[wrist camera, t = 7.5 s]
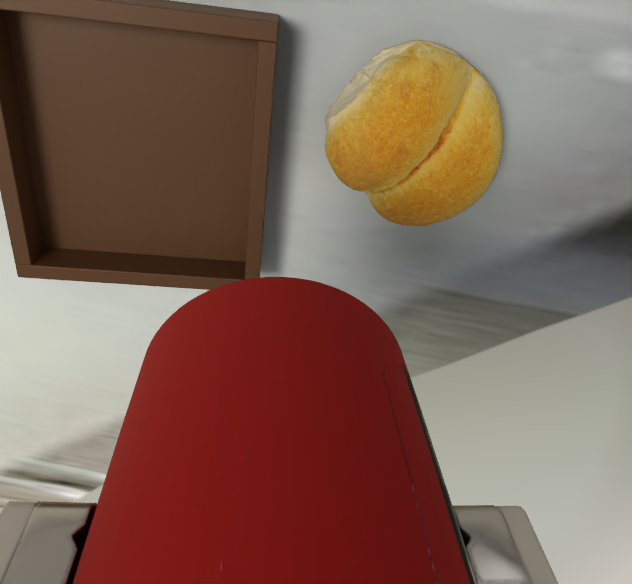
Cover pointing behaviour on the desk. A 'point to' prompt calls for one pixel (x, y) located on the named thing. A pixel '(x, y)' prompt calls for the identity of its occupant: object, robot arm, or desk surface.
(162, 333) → the beverage can
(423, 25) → the desk surface
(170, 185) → the serving tray
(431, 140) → the bread roll
